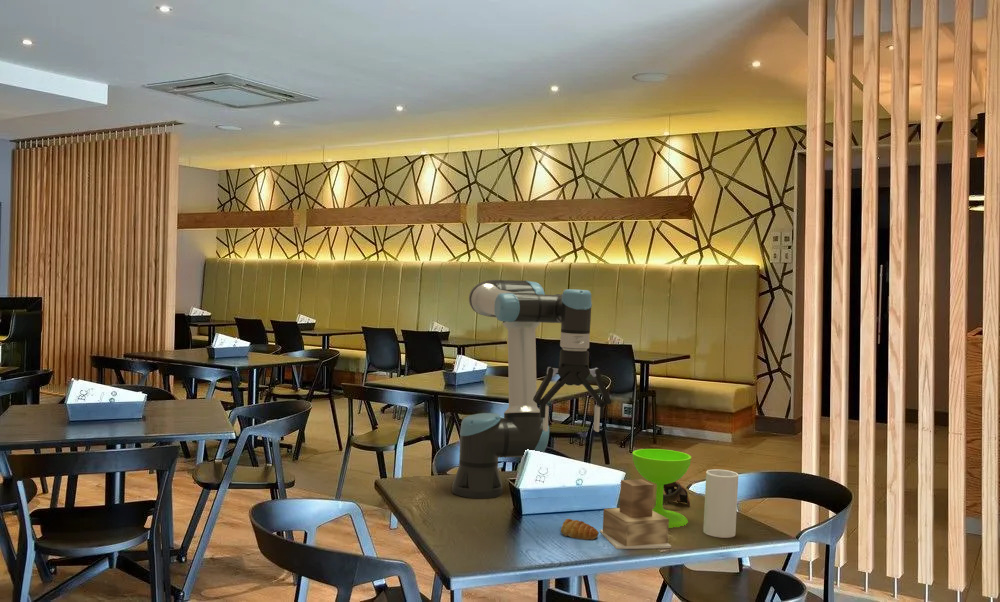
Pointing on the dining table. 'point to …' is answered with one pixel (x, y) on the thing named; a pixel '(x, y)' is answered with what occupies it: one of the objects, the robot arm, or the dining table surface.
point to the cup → (720, 503)
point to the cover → (635, 516)
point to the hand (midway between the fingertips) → (570, 430)
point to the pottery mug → (675, 493)
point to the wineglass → (663, 475)
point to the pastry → (578, 530)
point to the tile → (620, 546)
